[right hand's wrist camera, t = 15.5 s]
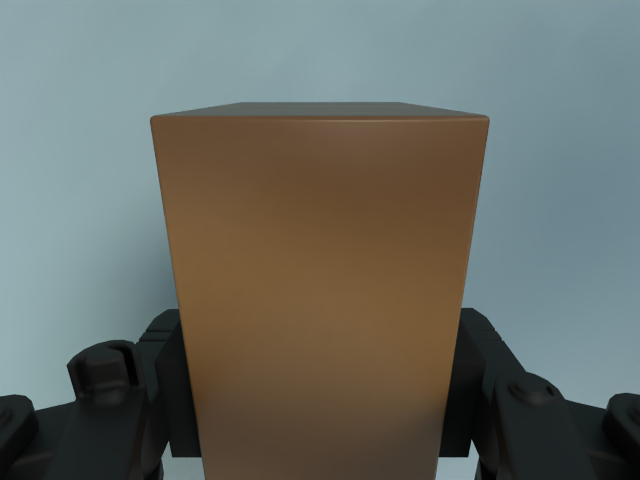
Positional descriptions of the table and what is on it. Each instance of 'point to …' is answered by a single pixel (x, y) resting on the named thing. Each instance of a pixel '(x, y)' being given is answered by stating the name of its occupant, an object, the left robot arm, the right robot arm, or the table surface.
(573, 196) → the table surface
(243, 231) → the bar
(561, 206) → the table surface
